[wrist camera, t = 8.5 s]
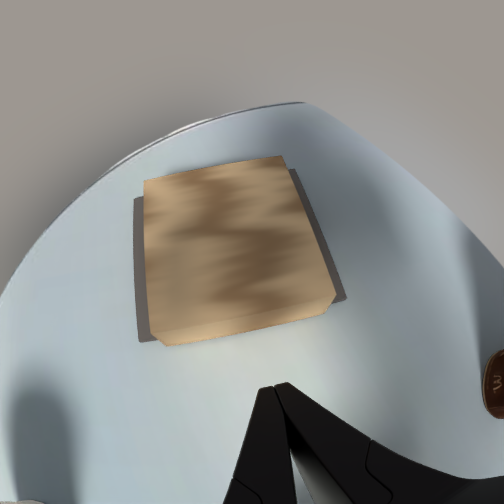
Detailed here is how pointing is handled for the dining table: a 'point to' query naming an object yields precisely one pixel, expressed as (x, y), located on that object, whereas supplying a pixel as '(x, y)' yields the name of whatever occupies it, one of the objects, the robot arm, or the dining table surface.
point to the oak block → (229, 252)
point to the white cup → (22, 502)
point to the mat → (139, 259)
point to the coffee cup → (494, 385)
